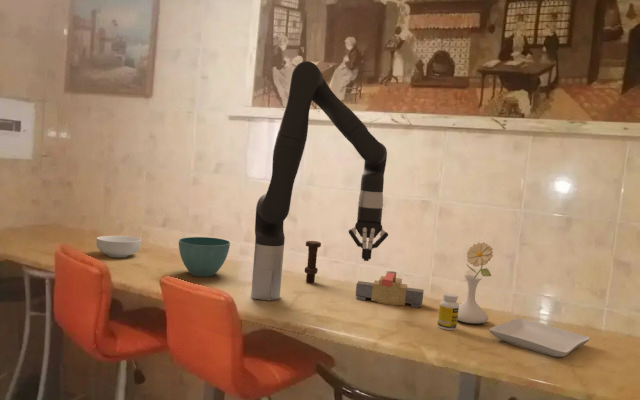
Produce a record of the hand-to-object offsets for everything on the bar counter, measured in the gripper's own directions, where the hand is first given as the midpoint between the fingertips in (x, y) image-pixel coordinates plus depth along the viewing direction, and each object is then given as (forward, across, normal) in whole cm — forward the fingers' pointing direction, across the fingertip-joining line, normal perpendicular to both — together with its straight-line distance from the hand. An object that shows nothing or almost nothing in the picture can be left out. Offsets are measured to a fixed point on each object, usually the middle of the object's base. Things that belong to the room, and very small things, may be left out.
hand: (365, 260), depth 176 cm
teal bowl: (+15, +57, -24) cm, 64 cm away
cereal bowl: (+14, +96, -42) cm, 106 cm away
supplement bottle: (+15, -24, +14) cm, 32 cm away
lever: (+7, -8, -4) cm, 12 cm away
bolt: (+15, +18, -27) cm, 36 cm away
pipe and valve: (+15, -9, -10) cm, 20 cm away
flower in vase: (+16, -33, +5) cm, 37 cm away
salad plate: (+16, -48, +20) cm, 55 cm away
